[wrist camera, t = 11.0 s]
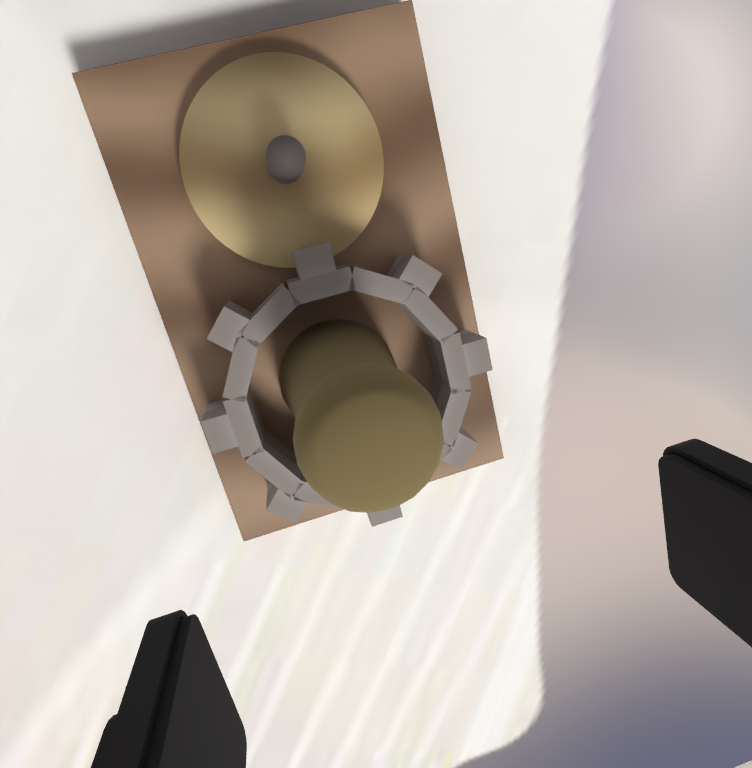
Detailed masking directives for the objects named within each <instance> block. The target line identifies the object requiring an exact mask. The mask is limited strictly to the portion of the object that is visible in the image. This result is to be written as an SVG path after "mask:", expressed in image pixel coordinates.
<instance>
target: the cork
mask: <svg viewBox="0 0 752 768" xmlns="http://www.w3.org/2000/svg"><path fill="white" fill-rule="evenodd" d="M279 383H280V388H281V393H282V398H283V399H284V401H285V403H286V405H287V406H288V408H289V410H290V411H291V413H292V415H293V416H294V418H295V419H296V420H295V427H294V434H293V445H294V450H295V455H296V460H297V465H298V467H299V469H300V471H301V472H302V474H303V476H304V477H305V479H306V481H307V482H308V484H309V485H310V486H311V488H312V489H313V490H315V491H316V492H317V493H318V494H319V495H321V496H322V497H323V498H324V499H325V500H326V501H328V502H329V503H330V504H333V505H335V506H338V507H340V508H343V509H346V510H348V511H353V512H367V513H374V512H378V511H383V510H387V509H392V508H395V507H397V506H398V505H400V504H402V503H404V502H406V501H408V500H409V499H411V498H413V497H414V496H415V495H416V494H417V493H418V492H419V491H420V490H421V489H422V488H423V487H424V486H425V485H426V484H427V483H428V482H429V481H430V479H431V477H432V476H433V474H434V472H435V470H436V468H437V466H438V465H439V463H440V459H441V454H442V448H443V443H444V437H443V429H442V421H441V415H440V412H439V410H438V408H437V406H436V404H435V402H434V400H433V398H432V396H431V394H430V393H429V392H428V391H427V390H426V389H425V388H424V387H423V386H422V385H421V384H420V383H419V382H418V381H417V380H416V379H415V378H414V377H413V376H411V375H410V374H408V373H406V372H404V371H402V370H400V369H398V368H397V365H396V363H395V360H394V358H393V356H392V354H391V352H390V350H389V348H388V346H387V344H386V342H385V341H384V340H383V339H382V338H381V337H380V336H379V335H378V334H377V333H376V332H375V331H374V330H373V329H371V328H369V327H367V326H365V325H363V324H361V323H359V322H356V321H349V320H343V319H335V320H329V321H323V322H319V323H317V324H315V325H313V326H311V327H309V328H307V329H305V330H304V331H302V332H301V333H300V334H299V335H298V336H297V337H296V338H295V339H294V340H293V341H292V342H291V344H290V345H289V347H288V349H287V351H286V353H285V355H284V357H283V359H282V361H281V367H280V375H279Z"/></svg>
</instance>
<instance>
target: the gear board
mask: <svg viewBox="0 0 752 768" xmlns="http://www.w3.org/2000/svg"><path fill="white" fill-rule="evenodd" d="M72 75H73V78H74V81H75V83H76V86H77V89H78V91H79V94H80V97H81V100H82V102H83V105H84V108H85V111H86V113H87V116H88V119H89V121H90V124H91V127H92V130H93V132H94V135H95V138H96V140H97V143H98V146H99V149H100V151H101V154H102V157H103V160H104V162H105V165H106V168H107V170H108V173H109V176H110V179H111V181H112V184H113V187H114V189H115V192H116V195H117V198H118V200H119V203H120V206H121V209H122V211H123V214H124V217H125V219H126V222H127V225H128V228H129V230H130V233H131V236H132V238H133V241H134V244H135V247H136V249H137V252H138V255H139V258H140V260H141V263H142V266H143V268H144V271H145V274H146V277H147V279H148V282H149V285H150V287H151V290H152V293H153V296H154V298H155V301H156V304H157V307H158V309H159V312H160V315H161V317H162V320H163V323H164V326H165V328H166V331H167V334H168V336H169V339H170V342H171V345H172V347H173V350H174V353H175V355H176V358H177V361H178V364H179V366H180V369H181V372H182V375H183V377H184V380H185V383H186V385H187V388H188V391H189V394H190V396H191V399H192V402H193V404H194V407H195V410H196V413H197V415H198V418H199V421H200V424H201V426H202V429H203V432H204V434H205V437H206V440H207V443H208V445H209V448H210V451H211V453H212V456H213V459H214V462H215V464H216V467H217V470H218V473H219V475H220V478H221V481H222V483H223V486H224V489H225V492H226V494H227V497H228V500H229V502H230V505H231V508H232V511H233V513H234V516H235V519H236V522H237V524H238V527H239V530H240V532H241V535H242V538H243V541H247V540H250V539H253V538H256V537H259V536H262V535H266V534H269V533H272V532H275V531H278V530H281V529H284V528H287V527H290V526H294V525H297V524H300V523H303V522H306V521H309V520H312V519H315V518H318V517H322V516H325V515H328V514H331V513H334V512H337V511H340V510H343V508H340V507H338V506H335V505H333V504H330V503H329V502H328V501H326V500H325V499H324V498H323V497H322V496H321V495H319V494H318V493H317V492H316V491H315V490H313V489H312V488H311V486H310V485H309V484H308V482H307V481H306V479H305V477H304V476H303V474H302V472H301V471H300V469H299V467H298V465H297V460H296V455H295V450H294V445H293V434H294V427H295V420H296V419H295V418H294V416H293V415H292V413H291V411H290V410H289V408H288V406H287V405H286V403H285V401H284V399H283V398H282V393H281V388H280V383H279V375H280V367H281V361H282V359H283V357H284V355H285V353H286V351H287V349H288V347H289V345H290V344H291V342H292V341H293V340H294V339H295V338H296V337H297V336H298V335H299V334H300V333H301V332H302V331H304V330H305V329H307V328H309V327H311V326H313V325H315V324H317V323H319V322H323V321H329V320H335V319H343V320H349V321H356V322H359V323H361V324H363V325H365V326H367V327H369V328H371V329H373V330H374V331H375V332H376V333H377V334H378V335H379V336H380V337H381V338H382V339H383V340H384V341H385V342H386V344H387V346H388V348H389V350H390V352H391V354H392V356H393V358H394V360H395V363H396V365H397V368H398V369H400V370H402V371H404V372H406V373H408V374H410V375H411V376H413V377H414V378H415V379H416V380H417V381H418V382H419V383H420V384H421V385H422V386H423V387H424V388H425V389H426V390H427V391H428V392H429V393H430V394H431V396H432V398H433V400H434V402H435V404H436V406H437V408H438V410H439V412H440V415H441V421H442V429H443V437H444V443H443V448H442V454H441V459H440V463H439V465H438V466H437V468H436V470H435V472H434V474H433V476H432V477H431V479H430V481H429V482H431V481H434V480H437V479H440V478H443V477H446V476H449V475H452V474H455V473H459V472H462V471H465V470H468V469H471V468H474V467H477V466H480V465H484V464H487V463H490V462H493V461H496V460H499V459H502V458H504V457H503V452H502V447H501V442H500V437H499V432H498V427H497V422H496V417H495V412H494V407H493V402H492V397H491V392H490V387H489V382H488V377H487V371H490V370H492V365H491V360H490V355H489V350H488V344H487V339H486V338H485V337H483V336H480V335H479V332H478V327H477V322H476V317H475V312H474V307H473V302H472V297H471V292H470V287H469V282H468V277H467V272H466V267H465V262H464V257H463V252H462V248H461V243H460V238H459V233H458V228H457V223H456V218H455V213H454V208H453V203H452V198H451V193H450V188H449V183H448V178H447V173H446V168H445V163H444V158H443V153H442V148H441V143H440V138H439V133H438V128H437V123H436V118H435V113H434V108H433V103H432V98H431V93H430V88H429V83H428V78H427V73H426V68H425V63H424V58H423V53H422V48H421V43H420V38H419V33H418V28H417V23H416V18H415V13H414V8H413V3H412V0H408V1H404V2H399V3H394V4H390V5H385V6H380V7H376V8H371V9H367V10H362V11H357V12H353V13H348V14H343V15H339V16H334V17H329V18H325V19H320V20H316V21H311V22H306V23H302V24H297V25H292V26H288V27H283V28H279V29H274V30H269V31H265V32H260V33H255V34H251V35H246V36H242V37H237V38H232V39H228V40H223V41H218V42H214V43H209V44H204V45H200V46H195V47H191V48H186V49H181V50H177V51H172V52H167V53H163V54H158V55H154V56H149V57H144V58H140V59H135V60H130V61H126V62H121V63H116V64H112V65H107V66H103V67H98V68H93V69H89V70H84V71H79V72H75V73H72ZM367 514H368V517H369V520H370V522H371V525H372V526H376V525H379V524H382V523H385V522H388V521H391V520H394V519H397V518H400V517H403V516H402V512H401V509H400V505H398V506H397V507H395V508H392V509H387V510H383V511H378V512H374V513H367Z"/></svg>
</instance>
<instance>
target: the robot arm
mask: <svg viewBox="0 0 752 768" xmlns="http://www.w3.org/2000/svg"><path fill="white" fill-rule="evenodd" d="M658 466H659V476H660V485H661V495H662V504H663V513H664V523H665V532H666V542H667V551H668V560H669V569H670V573H671V575H672V577H673V579H674V580H675V582H676V584H677V585H678V586H679V587H680V588H681V589H682V590H683V591H685V592H686V593H687V594H688V595H690V596H691V597H692V598H693V599H695V601H697V602H698V603H699V604H700V605H702V606H703V607H704V608H705V609H706V610H708V611H709V612H710V613H711V614H712V615H714V616H715V617H716V618H717V619H718V620H720V621H721V622H722V623H723V624H724V625H726V626H727V627H728V628H729V629H730V630H732V631H733V632H734V633H735V634H736V635H738V636H739V637H740V638H741V639H743V640H744V641H745V642H746V643H747V644H749V645H750V646H751V647H752V463H750V462H748V461H746V460H744V459H741V458H739V457H737V456H735V455H732V454H730V453H728V452H726V451H723V450H721V449H719V448H717V447H715V446H712V445H710V444H708V443H706V442H703V441H701V440H698V439H691V440H688V441H685V442H682V443H679V444H676V445H673V446H670V447H667V448H666V449H665V450H664V453H663V457H661V458H660V459H659V464H658ZM246 751H247V744H246V735H245V730H244V726H243V724H242V721H241V719H240V716H239V714H238V711H237V709H236V707H235V704H234V702H233V699H232V697H231V695H230V692H229V690H228V688H227V685H226V683H225V680H224V678H223V676H222V673H221V671H220V668H219V666H218V664H217V661H216V659H215V656H214V654H213V652H212V649H211V647H210V645H209V642H208V640H207V637H206V635H205V633H204V630H203V628H202V625H201V623H200V621H199V619H198V617H197V616H196V615H195V614H193V615H190V616H187V615H186V613H185V612H184V611H183V610H179V611H176V612H173V613H170V614H167V615H164V616H161V617H158V618H155V619H152V620H150V621H149V622H148V624H147V626H146V629H145V632H144V635H143V638H142V641H141V644H140V647H139V650H138V653H137V656H136V659H135V662H134V665H133V668H132V671H131V674H130V677H129V680H128V683H127V686H126V689H125V692H124V695H123V698H122V701H121V704H120V708H119V711H118V714H116V715H114V716H113V717H112V718H110V719H109V720H108V723H107V725H106V727H105V729H104V731H103V734H102V737H101V740H100V743H99V746H98V749H97V752H96V754H95V757H94V760H93V763H92V766H91V768H246ZM735 768H752V761H749V762H747V763H744V764H742V765H740V766H737V767H735Z"/></svg>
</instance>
